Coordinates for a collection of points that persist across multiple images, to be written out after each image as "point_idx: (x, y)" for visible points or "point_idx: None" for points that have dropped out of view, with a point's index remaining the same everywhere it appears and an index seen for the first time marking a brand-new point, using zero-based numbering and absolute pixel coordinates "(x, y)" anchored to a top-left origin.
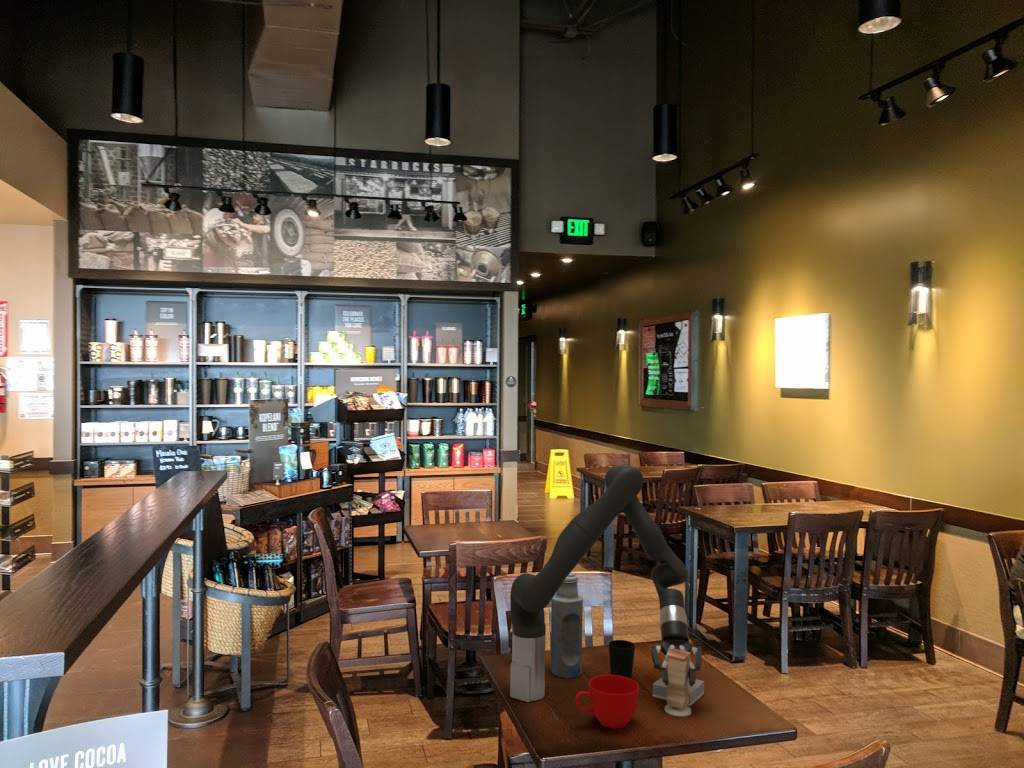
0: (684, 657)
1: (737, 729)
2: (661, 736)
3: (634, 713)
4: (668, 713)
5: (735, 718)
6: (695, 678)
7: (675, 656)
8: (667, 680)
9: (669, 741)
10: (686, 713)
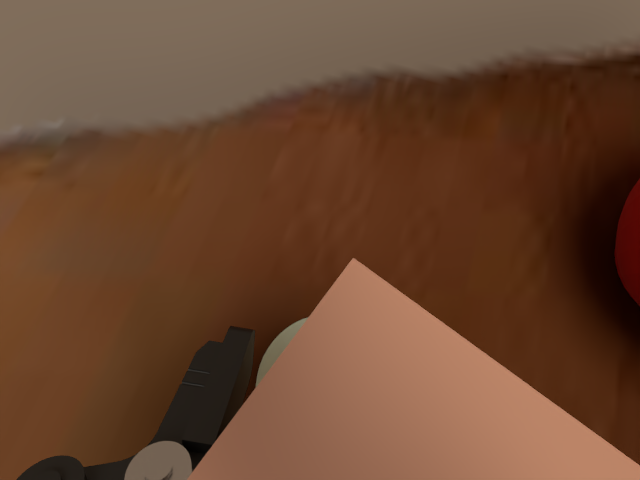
0: (334, 326)
1: (112, 173)
2: (473, 132)
3: (633, 189)
4: None
5: (57, 285)
6: (191, 365)
7: (522, 396)
8: None
9: (449, 91)
10: (299, 326)
